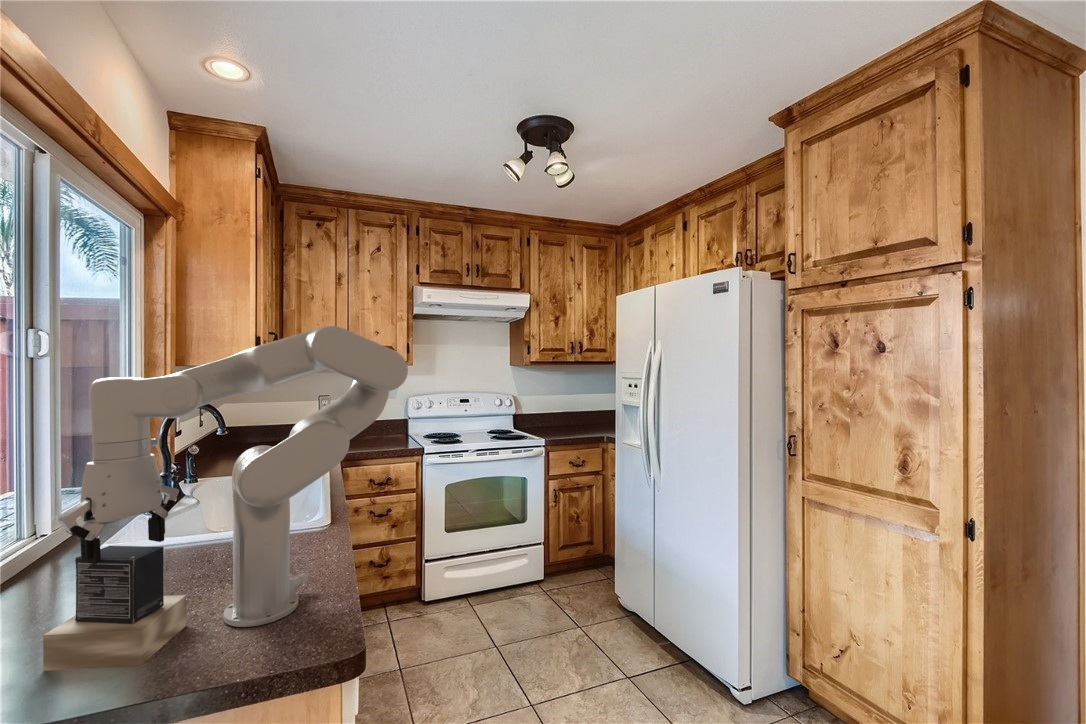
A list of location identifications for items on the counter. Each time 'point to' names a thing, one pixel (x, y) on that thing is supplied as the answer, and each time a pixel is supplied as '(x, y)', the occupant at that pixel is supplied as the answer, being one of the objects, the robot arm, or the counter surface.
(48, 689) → the counter surface
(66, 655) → the birch block
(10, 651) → the counter surface
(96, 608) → the small box
